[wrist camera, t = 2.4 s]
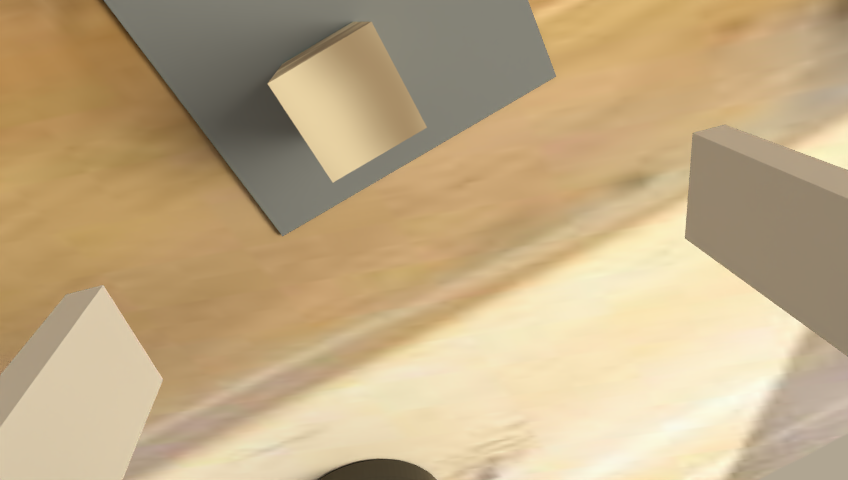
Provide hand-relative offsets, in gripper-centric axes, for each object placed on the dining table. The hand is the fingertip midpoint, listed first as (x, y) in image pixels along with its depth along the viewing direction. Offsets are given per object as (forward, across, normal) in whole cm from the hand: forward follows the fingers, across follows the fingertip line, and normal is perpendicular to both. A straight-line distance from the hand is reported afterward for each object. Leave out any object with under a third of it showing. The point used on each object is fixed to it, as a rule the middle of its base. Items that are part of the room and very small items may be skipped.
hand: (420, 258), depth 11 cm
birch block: (+23, +1, 0) cm, 23 cm away
